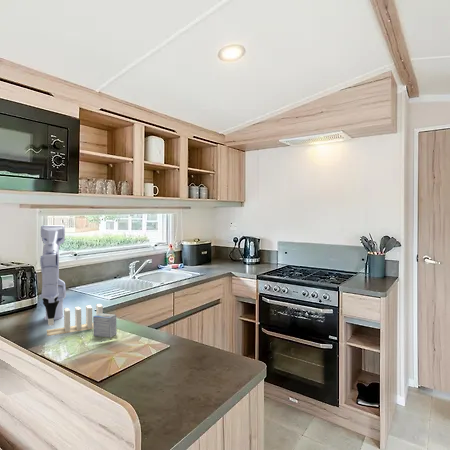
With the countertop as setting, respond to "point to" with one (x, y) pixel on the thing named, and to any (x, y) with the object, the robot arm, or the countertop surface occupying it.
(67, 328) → the domino
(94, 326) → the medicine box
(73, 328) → the oak strip
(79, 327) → the domino
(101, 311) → the domino
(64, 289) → the robot arm
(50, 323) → the domino
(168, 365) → the countertop surface
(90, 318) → the domino
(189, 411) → the countertop surface
